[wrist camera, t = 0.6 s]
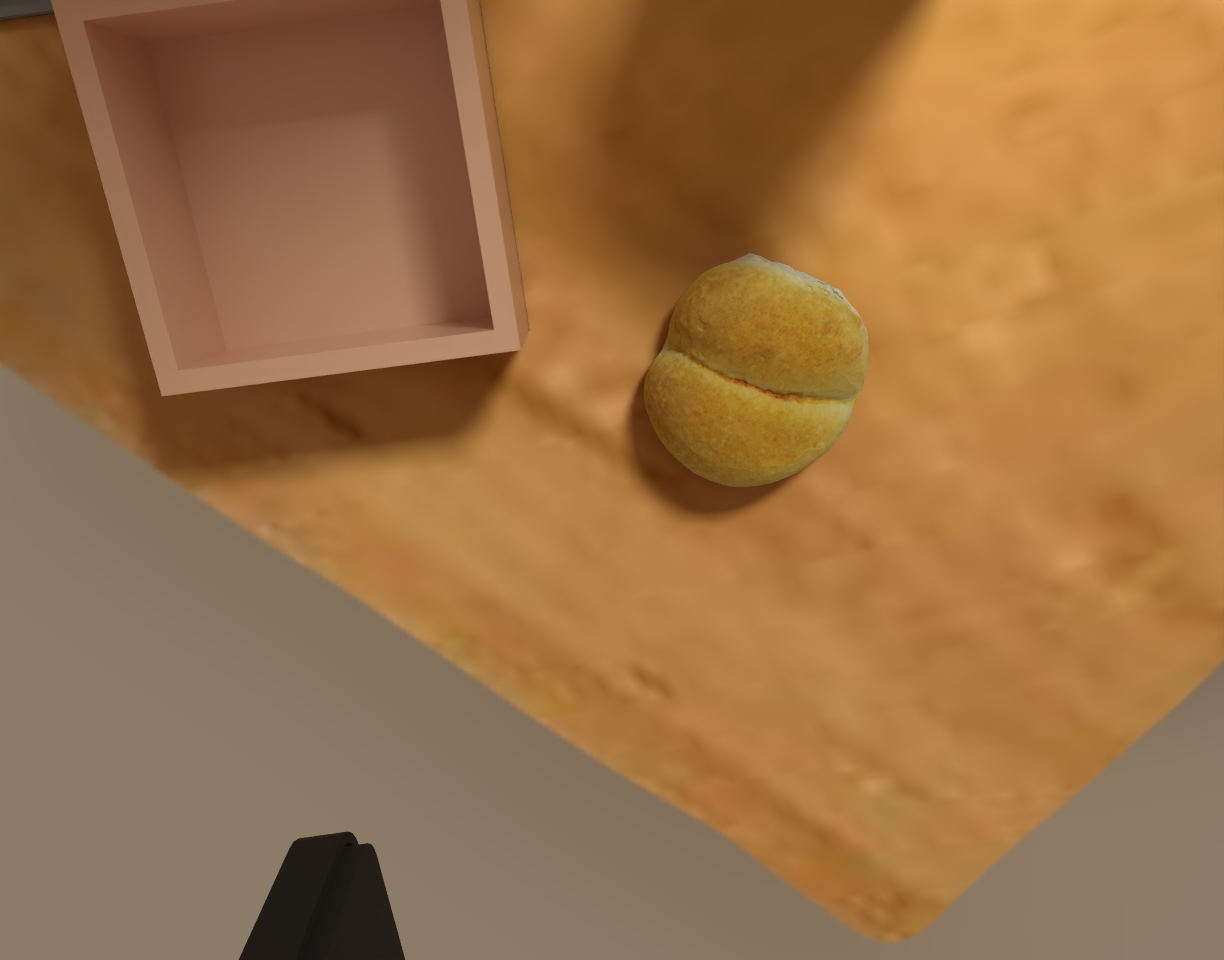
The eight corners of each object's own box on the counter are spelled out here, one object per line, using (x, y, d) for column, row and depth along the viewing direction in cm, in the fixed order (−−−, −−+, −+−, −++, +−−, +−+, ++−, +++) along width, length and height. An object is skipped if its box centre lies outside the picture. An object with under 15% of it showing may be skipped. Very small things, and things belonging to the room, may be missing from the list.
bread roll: (618, 437, 38) (621, 464, 34) (702, 230, 35) (716, 234, 31) (797, 504, 39) (819, 538, 35) (890, 308, 36) (925, 320, 33)
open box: (128, 25, 32) (49, -5, 28) (476, -22, 32) (456, -60, 27) (218, 370, 36) (161, 396, 31) (529, 329, 36) (520, 350, 31)
